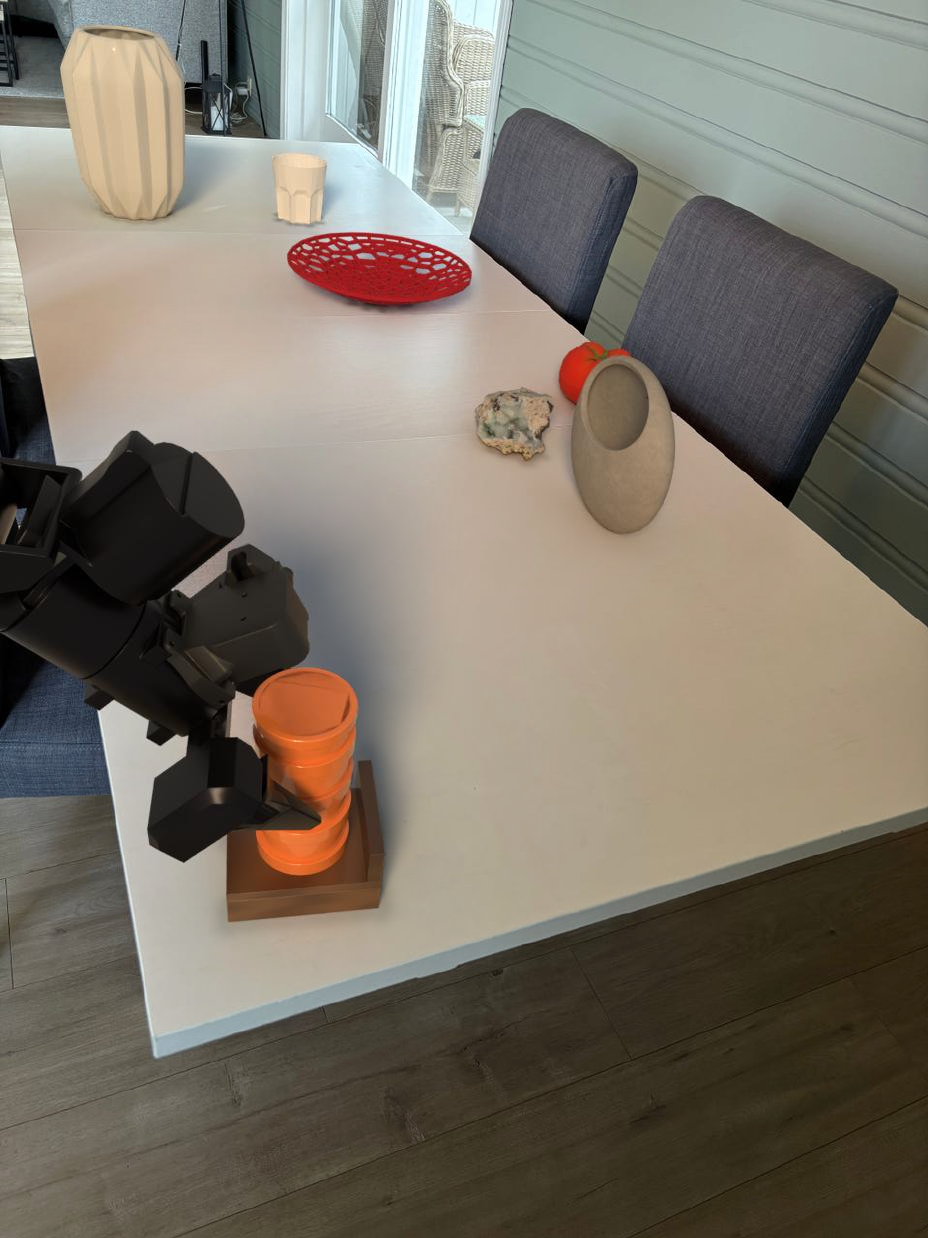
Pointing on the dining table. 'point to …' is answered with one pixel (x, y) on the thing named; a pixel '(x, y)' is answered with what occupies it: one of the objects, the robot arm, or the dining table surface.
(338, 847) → the orange ribbed tumbler
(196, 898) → the dining table surface
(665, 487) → the planter
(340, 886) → the bookend
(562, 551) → the dining table surface
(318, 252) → the bowl
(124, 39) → the vase
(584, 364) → the tomato
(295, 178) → the cup
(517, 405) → the mineral specimen
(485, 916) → the dining table surface
